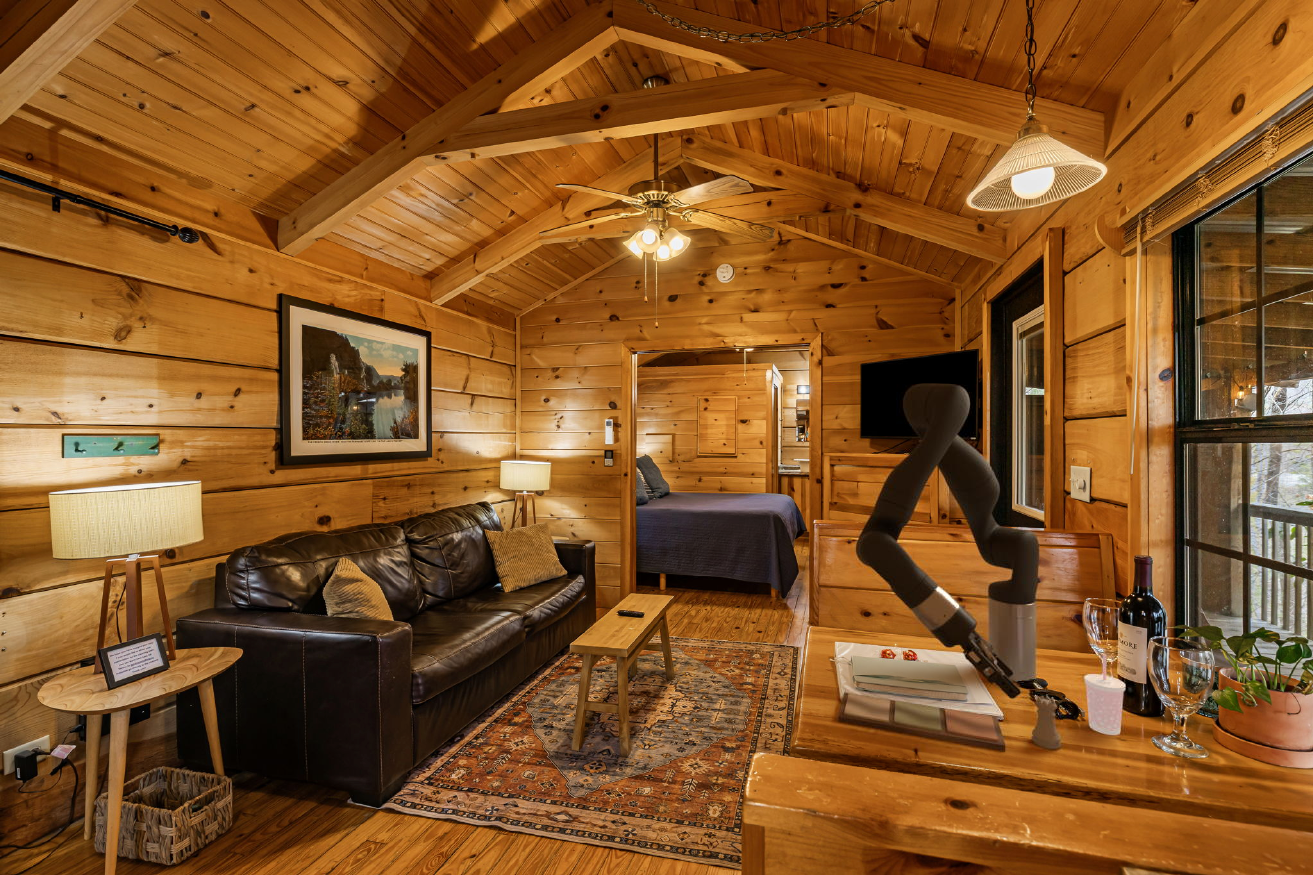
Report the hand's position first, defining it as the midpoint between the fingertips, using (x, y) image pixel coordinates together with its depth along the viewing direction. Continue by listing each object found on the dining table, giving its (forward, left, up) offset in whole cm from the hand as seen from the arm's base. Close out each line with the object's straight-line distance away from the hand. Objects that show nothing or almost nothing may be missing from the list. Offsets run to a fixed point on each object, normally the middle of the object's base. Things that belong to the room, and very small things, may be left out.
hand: (1012, 685), depth 106 cm
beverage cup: (-10, +16, -10) cm, 21 cm away
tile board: (0, -16, -10) cm, 19 cm away
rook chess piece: (0, +5, -10) cm, 11 cm away
